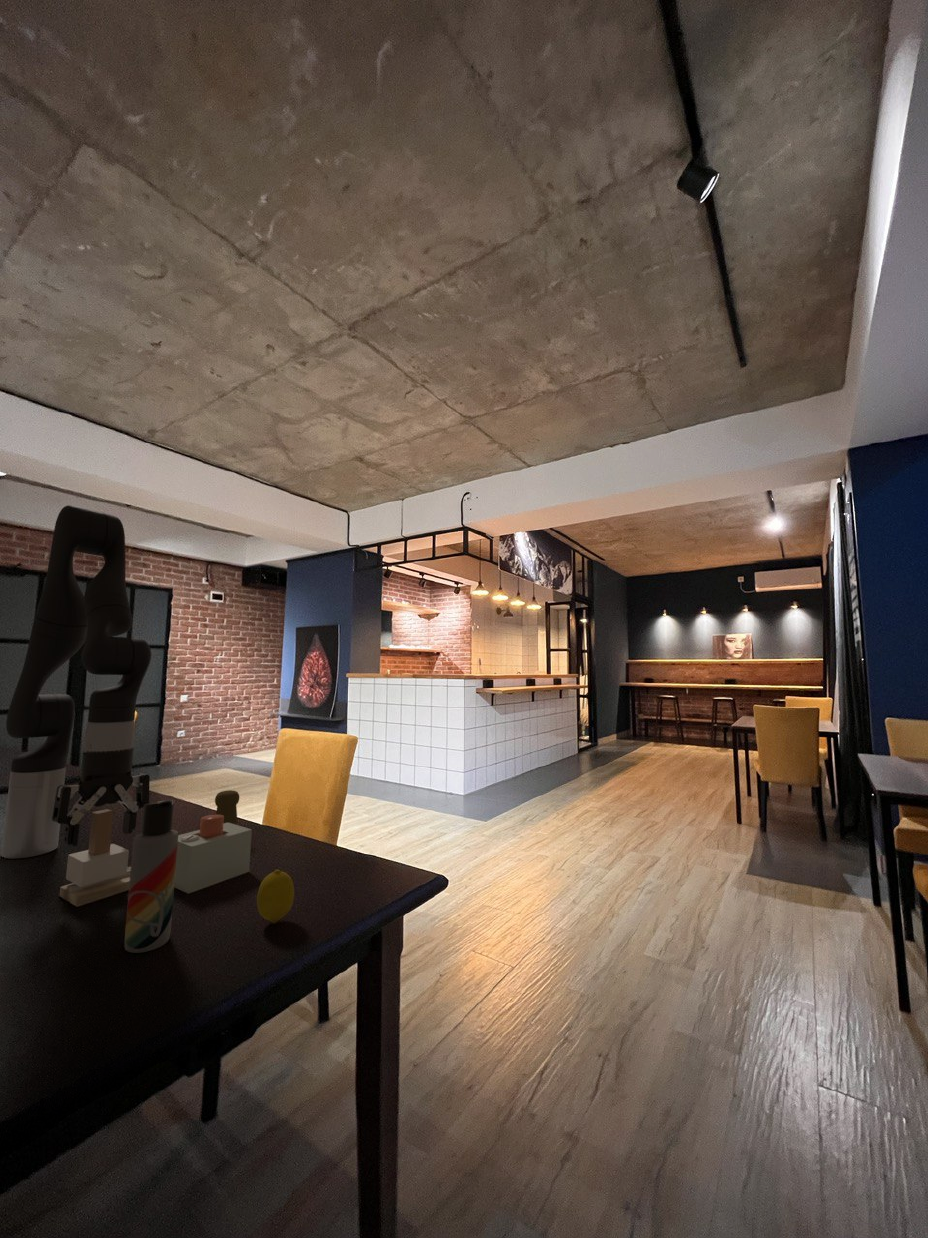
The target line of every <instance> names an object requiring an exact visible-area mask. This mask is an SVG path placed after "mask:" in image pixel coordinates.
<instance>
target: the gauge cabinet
mask: <svg viewBox="0 0 928 1238" xmlns="http://www.w3.org/2000/svg"><path fill="white" fill-rule="evenodd" d="M252 830H253V829H251V828H248V827H244V826H242V825H239V824H238V825H235V824H232V823H224V824H223V835H220V836H216V837H212V838H209V839H205V838H202V837H200V829H198V830H193V831H190V832H185V833H181V834H178V846H177V859H176V871H175V884H174V889H178V890H180V891H181V892H184V893H186V894H187V895H189V894H191V893H195V892H197V891H199V890H202V889H205V888H208V887H210V886H213V885H216V884H219V883H222V882H225V881H226V880H230V879H233V878H236V877H238V876H242V875H245V874H246V873H249V872H250V864H251V851H252V850H251V848H252V835H253V832H252Z"/></svg>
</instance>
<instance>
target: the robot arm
mask: <svg viewBox="0 0 928 1238" xmlns="http://www.w3.org/2000/svg"><path fill="white" fill-rule="evenodd" d="M75 552H77V553H81V554H87V555H92V556H99V557H103V560H104V565H103V566H102V567H101V569H100V570H99V572H98V573H97V574H96V575H95V576H94V577H92V580H91V581H90V582H89V583H88V585H87V586H86V588H85V591H84V593H83V591H82V589H81V587H80V585H79V583H78V580H77V578H76V575H75V572H74V563H73V562H74V554H75ZM48 558H49V560H48V565H47V571H46V576H45V579H44V580H45V581H44V585H43V586H42V587H43V588H42V591H41V595H40V599H39V602H38V605H37V608H36V612H35V614H34V619H33V622H32V627H31V631H30V636H29V640H28V641H29V642H28V646H27V650H26V654H25V658H24V661H23V662H24V663H23V665H22V666H23V667H22V670H21V673H20V676H19V679H18V682H17V684H16V686H15V690H14V692H13V694H12V698H11V701H10V705H9V708H8V710H7V715H6V719H5V720H6V721H5V723H6V724H5V725H6V726H5V727H6V732H7V734H8V735H9V736H10V737H11V738H13V739H30V738H31V739H33V738H43V737H44V738H46V740H45V741H44V742H43V743H41V744H40V745H39V746H37V747H35V748H34V749H31V750H29V751H25V752H22V753H21V754H17V755H16V756H15V757H13V758H12V760H11V765H10V774H9V782H8V793H7V803H6V808H5V816H4V817H5V818H4V826H3V835H2V844H1V851H0V857H1V856H2V858H3V857H4V859H25V858H31V857H36V856H41V855H44V854H47V853H50V852H52V851H54V850H56V849H57V848H58V846H59V838H60V830H61V824H63V825H64V835H63V842H64V844H66V845H67V847H69V848H70V849H71V848H75V847H76V848H77V847H78V843H79V833H80V824H79V823H80V820H81V819H82V818H83V817H84V816H85V815H86V814H87V813H89V811H90V810H91V809H92V808H93V807H97V808H98V807H102V806H104V805H107V804H108V805H114V804H116V803H117V802H118V803H119V804H120V805H121V806H122V807H123V808H124V809H125V810H126V811H124V812H123V822H122V833H123V834H125V835H131V834H133V831H134V830H135V829H136V826H137V815H138V812H139V811H140V810H141V809H142V808H144V805H145V804H150V777H151V776H150V774H146V773H142V772H139V773H137V774H136V775H132V769H133V761H134V759H133V758H134V749H135V743H136V740H135V736H136V729H135V727H136V726H135V719H136V717H135V716H136V707H137V699H138V695H139V691H140V688H141V687H142V684H143V680H144V678H145V676H146V673H147V671H148V670H149V666H150V664H151V661H152V650H151V647H150V645H149V644H148V642H147V640H144V639H143V638H137V637H127V636H125V637H121V636H120V635H124V634H126V633H127V632H129V631H130V630H131V629H132V627H133V617H132V613H131V611H132V610H131V608H130V607H131V606H130V602H129V598H128V593H127V592H128V591H127V585H126V534H125V529H124V524H123V523H122V520H121V519H120V518H119V517H118V516H116V515H113V514H109V513H105V512H103V511H102V512H101V511H98V510H94V509H89V508H85V507H81V506H77V505H70V504H68V505H65V506H63V507H62V509H61V510H60V511H59V513H58V515H57V518H56V521H55V524H54V530H53V535H52V541H51V547H50V554H49V557H48ZM82 647H83V648H82ZM81 648H82V652H81V656H80V657H81V658H80V660H81V664H82V666H83V668H84V669H85V670H86V671H87V672H88V673H90V674H92V675H97V676H108V675H109V676H122V677H121V679H119V681H118V682H117V683H116V684H115V685H112V686H109V687H103V688H99V689H96V690H94V691H93V692H92V693H91V694H90V698H89V705H88V716H87V717H88V718H87V723H86V724H87V725H86V729H85V732H84V739H83V747H82V756H81V770H80V780H79V781H78V783H77V784H71V785H65V782H66V781H65V779H66V772H67V771H66V770H67V760H68V757H69V752H70V747H71V746H70V745H71V738H72V733H73V727H74V723H75V714H76V713H75V712H76V706H75V701H74V698H73V696H71V695H70V694H65V693H49V694H48V693H47V694H45V693H43V694H41V690H42V689H43V687H44V685H45V683H46V682H47V681H48V679H49V678H50V677H51V676H52V675H53V673H55V672H56V671H57V670H58V669H59V668H60V667H61V666H63V665H64V664H65V663H67V662H68V661H69V660H70V659H71V658H72V657H73V656H74V655H75V654H77V653H78V652H79V651H80V650H81ZM132 785H133V786H134V787H135V788H136V789H135V792H136V793H135V801H134V798H133V797H132V796H131V795H130V794H129V793H128V790H129V788H130V787H131V786H132ZM75 793H78V794H79V795H80V797H79V799H78V800H77V801H76V802H75V803H74V805H73V806H72V808H71V810H70V811H68V810H69V807H70V800H71V799H72V798H73V797H74V796H75Z"/></svg>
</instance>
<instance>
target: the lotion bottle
mask: <svg viewBox="0 0 928 1238" xmlns="http://www.w3.org/2000/svg"><path fill="white" fill-rule="evenodd" d="M174 806H175V802H174V800H172V799H165V800H161V801H157V802H151V803H150V802H149V804H145V805H144V807H143V814H142V823H141V832H140V833H138V834H137V835H135V836H134V837H133V841H132V842H133V843H132V849H131V852H132V853H131V861H130V863H131V864H130V867H131V873H130V884H129V890H128V896H127V907H126V908H127V909H126V917H125V918H126V920H125V930H124V931H125V933H124V942H123V943H124V949H125V951H126V952H128V953H132V954H133V953H134V954H141V953H146V952H147V953H148V952H149V951H150V952H151V951H154V950H156V949H158V948H160V947H162V946H164V945H165V944H167V942H168V941H169V940H170V937H171V931H172V919H173V918H172V917H173V905H174V895H175V894H174V893H175V887H174V884H175V871H176V859H177V846H178V835H179V832H178V831H177V830H176V829H173V821H174V808H175V807H174Z"/></svg>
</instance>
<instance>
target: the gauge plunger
mask: <svg viewBox="0 0 928 1238" xmlns="http://www.w3.org/2000/svg"><path fill="white" fill-rule="evenodd" d="M223 822H224V816H223V815H216V814H209V815H204V816H202V817H201V818H200V825H199V828H200V829H199V830H200V837H202V838H205V839H209V838H212V837H216V836H220V835H223Z"/></svg>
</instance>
